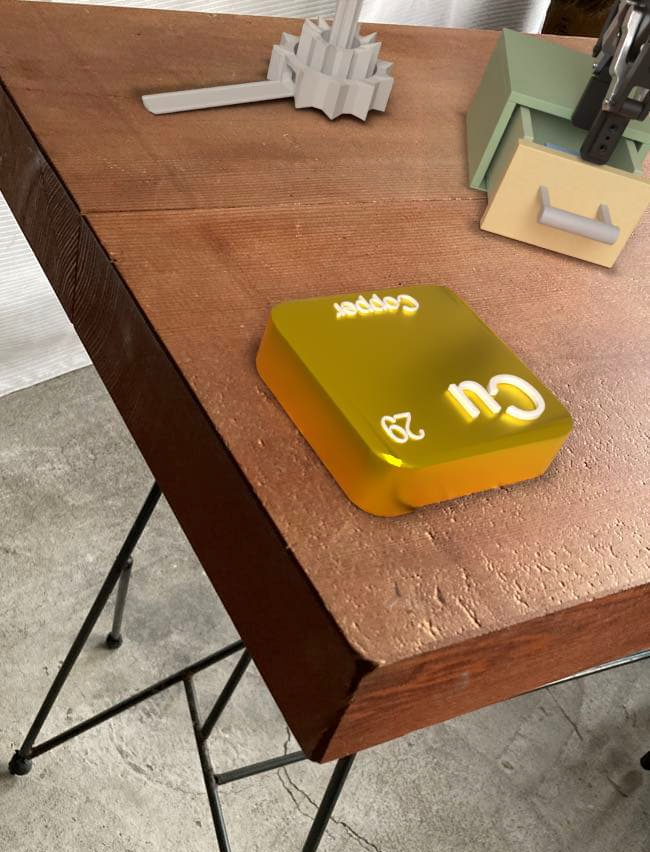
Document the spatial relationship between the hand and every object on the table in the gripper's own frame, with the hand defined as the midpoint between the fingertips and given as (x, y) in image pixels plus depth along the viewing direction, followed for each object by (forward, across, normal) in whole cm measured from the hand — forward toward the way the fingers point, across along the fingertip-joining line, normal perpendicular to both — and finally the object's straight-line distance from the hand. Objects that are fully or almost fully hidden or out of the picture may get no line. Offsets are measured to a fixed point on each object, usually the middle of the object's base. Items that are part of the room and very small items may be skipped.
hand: (586, 142), depth 77 cm
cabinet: (+8, +11, 0) cm, 14 cm away
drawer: (+8, +1, 0) cm, 8 cm away
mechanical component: (+9, +9, +24) cm, 27 cm away
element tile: (+9, -29, +12) cm, 33 cm away
